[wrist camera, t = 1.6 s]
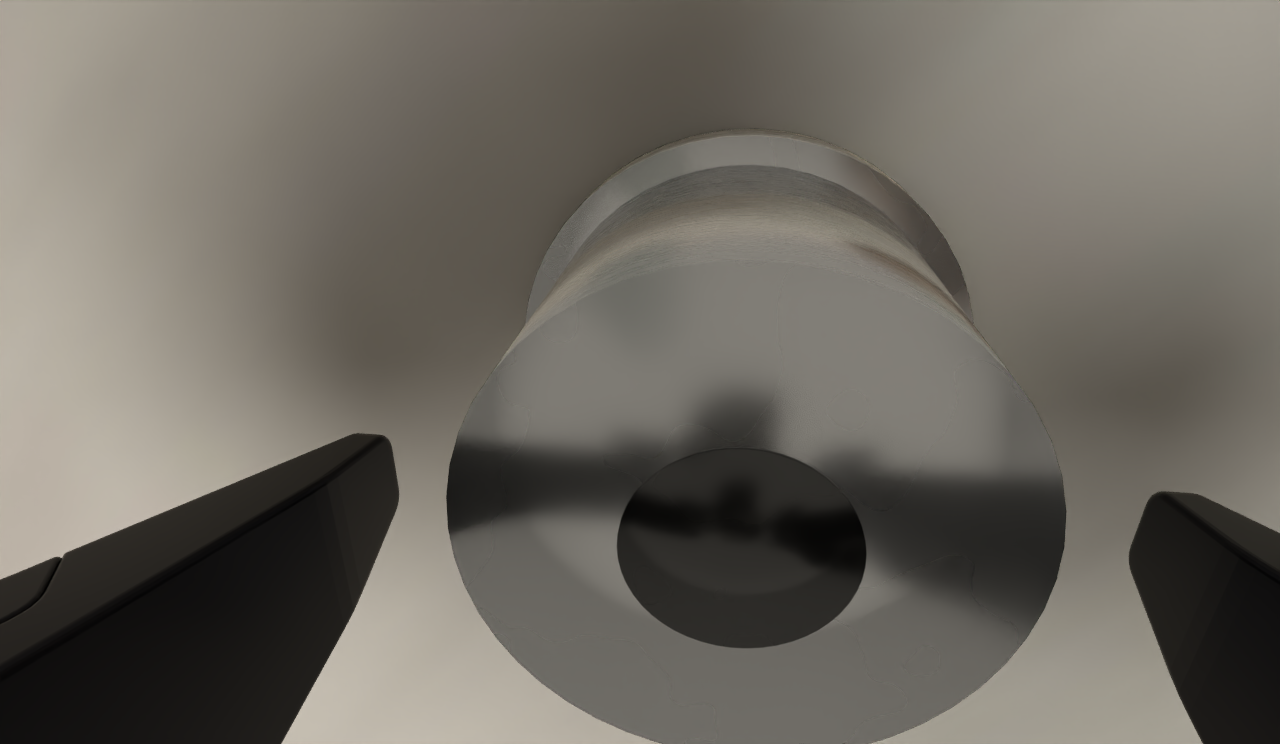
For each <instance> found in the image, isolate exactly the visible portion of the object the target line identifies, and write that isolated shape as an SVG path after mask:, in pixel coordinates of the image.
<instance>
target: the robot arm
mask: <svg viewBox="0 0 1280 744" xmlns="http://www.w3.org/2000/svg"><path fill="white" fill-rule="evenodd" d="M398 501H399V487H398V481H397V475H396V469H395V463H394V457H393V450H392V446H391V443H390V441H389V439H388V438H386V437H385V436H383V435H376V434H362V433H356V434H352V435H349V436H347V437H344V438H342V439H339V440H337V441H335V442H332V443H330V444H327V445H325V446H323V447H320V448H318V449H315V450H313V451H310V452H308V453H306V454H303V455H301V456H298V457H296V458H294V459H291V460H289V461H286V462H284V463H281V464H279V465H277V466H274V467H272V468H269V469H267V470H265V471H262V472H260V473H257V474H255V475H253V476H250V477H248V478H245V479H243V480H240V481H238V482H236V483H233V484H231V485H228V486H226V487H224V488H221V489H219V490H216V491H214V492H211V493H209V494H207V495H204V496H202V497H199V498H197V499H195V500H192V501H190V502H187V503H185V504H183V505H180V506H178V507H175V508H173V509H170V510H168V511H166V512H163V513H161V514H158V515H156V516H154V517H151V518H149V519H146V520H144V521H142V522H139V523H137V524H134V525H132V526H129V527H127V528H125V529H122V530H120V531H117V532H115V533H113V534H110V535H108V536H105V537H103V538H100V539H98V540H96V541H93V542H91V543H88V544H86V545H84V546H81V547H79V548H76V549H74V550H72V551H69V552H67V553H65V554H64V556H63V558H60V557H54V558H52V559H49V560H47V561H45V562H42V563H40V564H37V565H35V566H33V567H30V568H28V569H25V570H23V571H20V572H18V573H16V574H13V575H11V576H8V577H6V578H3V579H1V580H0V744H281V743H282V742H283V740H284V738H285V736H286V734H287V732H288V731H289V729H290V727H291V725H292V723H293V722H294V720H295V718H296V716H297V714H298V712H299V711H300V709H301V707H302V705H303V703H304V702H305V700H306V698H307V696H308V694H309V693H310V691H311V689H312V687H313V685H314V683H315V682H316V680H317V678H318V676H319V674H320V673H321V671H322V669H323V667H324V665H325V663H326V662H327V660H328V658H329V656H330V654H331V653H332V651H333V649H334V647H335V645H336V644H337V642H338V640H339V638H340V636H341V634H342V633H343V631H344V629H345V627H346V625H347V623H348V621H349V619H350V618H351V616H352V614H353V612H354V610H355V607H356V605H357V603H358V601H359V599H360V596H361V594H362V592H363V589H364V587H365V585H366V582H367V580H368V577H369V575H370V572H371V570H372V568H373V565H374V563H375V560H376V558H377V556H378V553H379V551H380V548H381V546H382V543H383V541H384V539H385V536H386V534H387V531H388V529H389V526H390V524H391V522H392V519H393V517H394V514H395V512H396V509H397V506H398ZM1129 565H1130V570H1131V573H1132V576H1133V579H1134V581H1135V584H1136V587H1137V589H1138V592H1139V594H1140V597H1141V600H1142V602H1143V605H1144V608H1145V610H1146V613H1147V615H1148V618H1149V621H1150V623H1151V626H1152V629H1153V631H1154V634H1155V637H1156V639H1157V642H1158V644H1159V647H1160V650H1161V652H1162V655H1163V658H1164V660H1165V663H1166V665H1167V668H1168V671H1169V673H1170V676H1171V678H1172V680H1173V683H1174V685H1175V687H1176V690H1177V692H1178V694H1179V697H1180V699H1181V701H1182V703H1183V705H1184V707H1185V709H1186V711H1187V713H1188V715H1189V717H1190V719H1191V721H1192V723H1193V725H1194V727H1195V729H1196V731H1197V733H1198V735H1199V737H1200V739H1201V741H1202V743H1203V744H1280V533H1278V532H1276V531H1274V530H1272V529H1270V528H1268V527H1266V526H1264V525H1261V524H1259V523H1257V522H1255V521H1253V520H1251V519H1249V518H1247V517H1245V516H1243V515H1241V514H1239V513H1236V512H1234V511H1232V510H1230V509H1228V508H1226V507H1224V506H1222V505H1220V504H1218V503H1216V502H1214V501H1211V500H1209V499H1207V498H1205V497H1203V496H1201V495H1198V494H1193V493H1181V492H1167V491H1161V492H1157V493H1155V494H1154V495H1152V496H1151V497H1150V499H1149V500H1148V502H1147V504H1146V507H1145V509H1144V512H1143V515H1142V517H1141V520H1140V523H1139V525H1138V528H1137V531H1136V534H1135V536H1134V539H1133V542H1132V544H1131V547H1130V552H1129Z"/></svg>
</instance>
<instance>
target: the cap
mask: <svg viewBox="0 0 1280 744" xmlns="http://www.w3.org/2000/svg"><path fill="white" fill-rule="evenodd" d="M446 499H447V517H448V530H449V534H450V539H451V544H452V549H453V554H454V558H455V561H456V563H457V566H458V569H459V572H460V574H461V577H462V580H463V583H464V585H465V588H466V589H467V591H468V593H469V595H470V597H471V599H472V601H473V603H474V605H475V607H476V608H477V610H478V612H479V614H480V615H481V617H482V618H483V620H484V621H485V622H486V624H487V625H488V627H489V628H490V630H491V631H492V632H493V634H494V635H495V637H496V638H497V639H498V640H499V642H500V643H501V644H502V645H503V646H504V647H505V648H506V649H507V650H508V652H509V653H510V654H511V655H512V656H513V657H514V658H515V659H516V660H517V662H518V663H520V664H521V665H522V666H523V667H524V668H525V669H526V670H527V671H529V672H530V673H531V674H532V675H533V676H534V677H535V678H536V679H538V680H539V681H540V682H541V683H542V684H544V685H545V686H546V687H548V688H549V689H551V690H552V691H553V692H555V693H556V694H558V695H559V696H560V697H562V698H563V699H564V700H566V701H567V702H569V703H571V704H572V705H574V706H576V707H578V708H579V709H581V710H583V711H585V712H586V713H588V714H590V715H592V716H593V717H595V718H597V719H599V720H602V721H604V722H606V723H608V724H610V725H612V726H615V727H617V728H619V729H621V730H623V731H626V732H629V733H631V734H634V735H637V736H640V737H643V738H646V739H649V740H652V741H654V742H658V743H662V744H870V743H873V742H876V741H880V740H883V739H886V738H889V737H892V736H895V735H897V734H899V733H902V732H904V731H907V730H909V729H911V728H914V727H916V726H918V725H921V724H923V723H925V722H927V721H928V720H930V719H932V718H934V717H936V716H938V715H939V714H941V713H943V712H945V711H947V710H948V709H950V708H952V707H953V706H955V705H956V704H958V703H959V702H960V701H962V700H963V699H965V698H966V697H968V696H969V695H970V694H972V693H973V692H975V691H976V690H977V689H979V688H980V687H981V686H982V685H983V684H984V683H986V682H987V681H988V680H989V679H990V678H991V677H992V676H993V675H994V674H995V673H996V672H997V671H999V670H1000V669H1001V668H1002V667H1003V666H1004V665H1005V664H1006V663H1007V661H1008V660H1009V659H1010V658H1011V657H1012V655H1013V654H1014V653H1015V652H1016V651H1017V649H1018V648H1019V647H1020V646H1021V645H1022V643H1023V642H1024V641H1025V640H1026V638H1027V637H1028V635H1029V634H1030V632H1031V630H1032V629H1033V627H1034V625H1035V624H1036V622H1037V620H1038V619H1039V617H1040V616H1041V614H1042V612H1043V611H1044V608H1045V606H1046V604H1047V601H1048V599H1049V596H1050V594H1051V592H1052V589H1053V587H1054V584H1055V582H1056V580H1057V575H1058V571H1059V567H1060V562H1061V558H1062V554H1063V550H1064V542H1065V525H1066V505H1065V497H1064V488H1063V480H1062V474H1061V471H1060V468H1059V464H1058V461H1057V458H1056V454H1055V451H1054V448H1053V445H1052V441H1051V439H1050V437H1049V435H1048V433H1047V431H1046V429H1045V427H1044V425H1043V423H1042V421H1041V419H1040V417H1039V415H1038V413H1037V411H1036V409H1035V407H1034V405H1033V404H1032V403H1031V401H1030V400H1029V398H1028V397H1027V396H1026V394H1025V393H1024V392H1023V390H1022V389H1021V387H1020V386H1019V385H1018V383H1017V382H1016V381H1015V379H1014V378H1013V376H1012V375H1011V374H1010V372H1009V371H1008V370H1007V368H1006V367H1005V366H1004V364H1003V363H1002V362H1001V360H1000V359H999V358H998V356H997V355H996V354H995V352H994V351H993V350H992V349H991V347H990V346H989V345H988V343H987V342H986V341H985V339H984V338H983V337H982V335H981V334H980V333H979V331H978V330H977V329H976V327H975V326H974V325H973V317H972V311H971V305H970V298H969V294H968V291H967V287H966V284H965V281H964V278H963V275H962V272H961V269H960V266H959V264H958V262H957V260H956V258H955V256H954V254H953V252H952V250H951V248H950V247H949V245H948V243H947V241H946V239H945V238H944V236H943V235H942V234H941V232H940V231H939V229H938V228H937V227H936V225H935V224H934V222H933V221H932V220H931V218H930V217H929V216H928V215H927V213H926V212H925V211H924V210H923V209H922V208H921V207H920V206H919V205H918V204H917V203H916V202H915V201H914V200H913V199H912V198H911V197H910V196H909V195H908V194H907V193H906V192H905V190H904V189H903V188H902V187H901V186H900V185H899V184H898V183H897V182H895V181H894V180H893V179H891V178H890V177H889V176H887V175H886V174H885V173H883V172H882V171H881V170H880V169H878V168H877V167H876V166H874V165H873V164H871V163H869V162H868V161H866V160H864V159H862V158H860V157H859V156H857V155H855V154H853V153H851V152H850V151H848V150H846V149H843V148H841V147H838V146H835V145H833V144H830V143H828V142H825V141H822V140H820V139H817V138H813V137H808V136H804V135H800V134H796V133H791V132H787V131H776V130H765V129H736V130H721V131H716V132H710V133H705V134H699V135H694V136H691V137H688V138H684V139H681V140H678V141H675V142H672V143H669V144H666V145H663V146H661V147H659V148H657V149H655V150H653V151H651V152H649V153H647V154H645V155H643V156H640V157H638V158H637V159H635V160H633V161H632V162H630V163H629V164H627V165H626V166H624V167H623V168H621V169H620V170H618V171H617V172H615V173H614V174H612V175H611V176H610V177H609V178H608V179H607V180H606V181H604V182H603V183H602V184H601V185H600V186H599V187H598V188H596V189H595V190H594V191H593V192H592V193H591V194H590V195H589V196H588V197H587V199H586V200H585V201H584V202H583V203H582V204H581V205H580V207H579V208H578V209H577V210H576V211H575V212H574V214H573V215H572V216H571V217H570V218H569V219H568V221H567V222H566V223H565V224H564V225H563V227H562V228H561V230H560V231H559V233H558V234H557V236H556V238H555V239H554V241H553V242H552V244H551V245H550V247H549V248H548V250H547V252H546V254H545V257H544V259H543V261H542V263H541V265H540V267H539V270H538V272H537V274H536V277H535V280H534V284H533V287H532V290H531V294H530V297H529V301H528V307H527V314H526V321H525V326H524V328H523V329H522V330H521V332H520V333H519V335H518V336H517V337H516V339H515V340H514V342H513V343H512V345H511V346H510V347H509V349H508V350H507V352H506V353H505V355H504V356H503V357H502V359H501V360H500V362H499V363H498V364H497V366H496V367H495V369H494V370H493V372H492V373H491V375H490V376H489V378H488V379H487V381H486V382H485V384H484V385H483V387H482V388H481V390H480V391H479V393H478V394H477V396H476V397H475V399H474V400H473V402H472V404H471V406H470V408H469V410H468V413H467V415H466V417H465V419H464V421H463V424H462V426H461V428H460V430H459V433H458V436H457V439H456V443H455V447H454V451H453V454H452V458H451V462H450V466H449V476H448V485H447V495H446Z"/></svg>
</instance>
